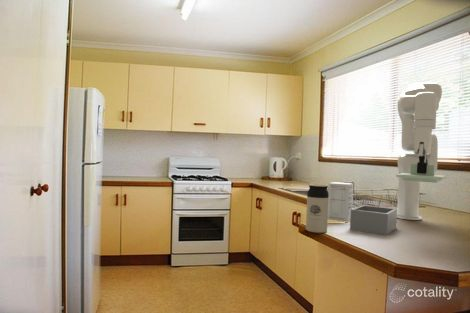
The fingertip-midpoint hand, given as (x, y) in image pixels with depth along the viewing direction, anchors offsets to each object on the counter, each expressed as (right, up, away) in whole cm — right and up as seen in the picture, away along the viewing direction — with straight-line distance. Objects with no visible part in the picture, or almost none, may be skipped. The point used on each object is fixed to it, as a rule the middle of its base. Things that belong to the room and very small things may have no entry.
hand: (422, 172), depth 144 cm
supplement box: (-23, -23, +30) cm, 44 cm away
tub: (-15, -23, +10) cm, 29 cm away
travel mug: (-41, -23, 0) cm, 46 cm away
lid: (0, -3, 0) cm, 3 cm away
